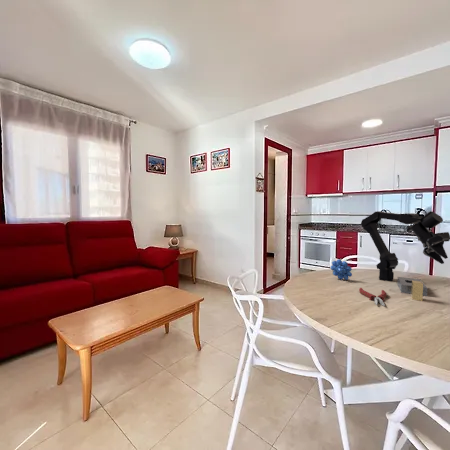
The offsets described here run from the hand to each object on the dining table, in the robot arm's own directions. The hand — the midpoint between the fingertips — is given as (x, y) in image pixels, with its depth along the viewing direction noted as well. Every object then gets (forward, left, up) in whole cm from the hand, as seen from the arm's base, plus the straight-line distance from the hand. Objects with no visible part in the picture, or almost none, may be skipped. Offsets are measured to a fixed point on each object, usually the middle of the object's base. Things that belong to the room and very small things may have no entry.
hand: (444, 261), depth 114 cm
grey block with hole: (-12, +4, -17) cm, 21 cm away
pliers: (-30, -20, -18) cm, 40 cm away
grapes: (-45, +5, -17) cm, 48 cm away
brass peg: (-12, -11, -17) cm, 23 cm away
